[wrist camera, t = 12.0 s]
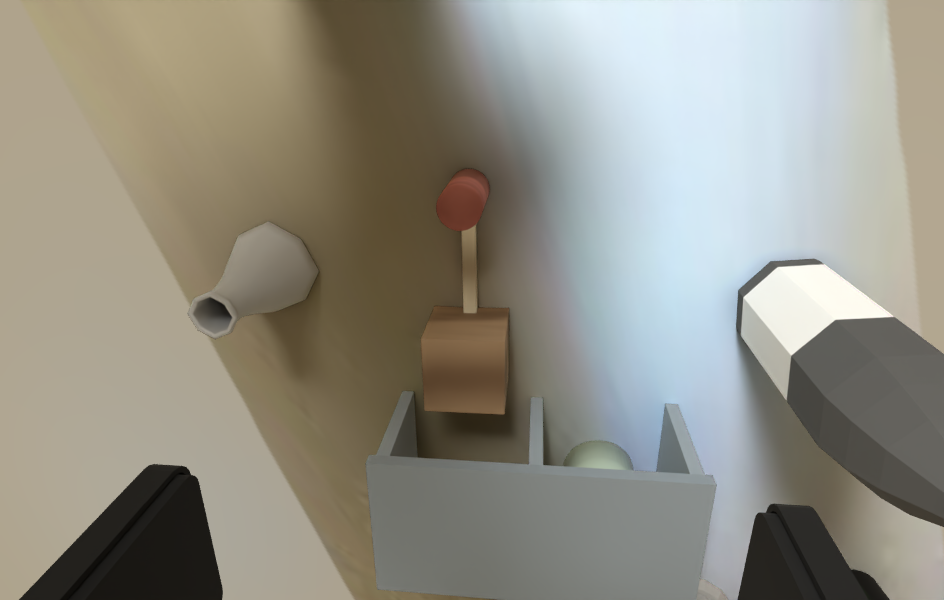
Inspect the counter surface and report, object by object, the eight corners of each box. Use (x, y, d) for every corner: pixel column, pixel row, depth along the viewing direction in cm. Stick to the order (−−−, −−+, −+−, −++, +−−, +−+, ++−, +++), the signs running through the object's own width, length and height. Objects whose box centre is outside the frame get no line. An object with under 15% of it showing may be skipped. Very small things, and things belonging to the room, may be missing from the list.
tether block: (428, 168, 44) (412, 185, 39) (510, 168, 44) (505, 185, 38) (437, 371, 51) (424, 410, 45) (508, 374, 50) (504, 414, 45)
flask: (279, 323, 51) (220, 384, 41) (213, 261, 49) (137, 310, 40) (335, 271, 48) (287, 322, 39) (268, 204, 47) (201, 241, 38)
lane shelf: (396, 390, 52) (365, 463, 43) (684, 404, 49) (716, 484, 40) (404, 501, 56) (377, 589, 47) (667, 519, 54) (693, 615, 45)
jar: (564, 438, 52) (567, 493, 45) (635, 442, 51) (649, 498, 45) (561, 494, 54) (564, 553, 48) (629, 498, 54) (641, 559, 47)
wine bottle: (867, 274, 44) (1424, 653, 16) (811, 366, 47) (1196, 815, 19) (762, 240, 44) (1141, 564, 16) (713, 335, 47) (959, 741, 19)
